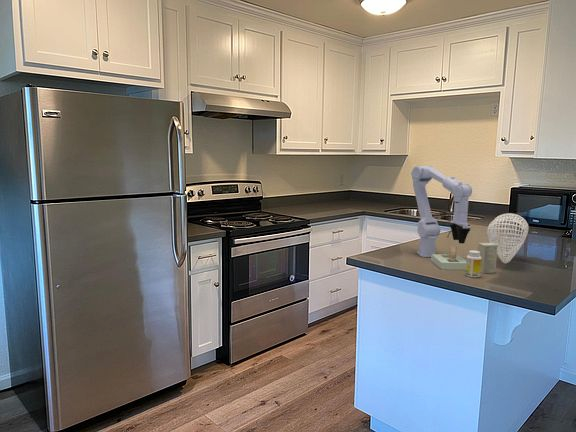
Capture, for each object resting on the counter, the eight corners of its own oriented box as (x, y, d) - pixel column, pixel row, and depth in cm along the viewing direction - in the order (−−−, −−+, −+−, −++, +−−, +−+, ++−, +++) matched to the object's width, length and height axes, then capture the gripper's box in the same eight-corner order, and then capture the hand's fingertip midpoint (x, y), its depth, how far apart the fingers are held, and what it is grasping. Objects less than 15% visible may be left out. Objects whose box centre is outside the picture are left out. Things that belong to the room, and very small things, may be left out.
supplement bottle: (482, 275, 175) (484, 251, 174) (477, 278, 171) (479, 253, 170) (468, 273, 179) (470, 249, 177) (463, 275, 175) (465, 251, 173)
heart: (490, 255, 212) (494, 210, 209) (526, 259, 204) (530, 213, 201) (482, 267, 189) (486, 217, 186) (522, 272, 181) (526, 220, 177)
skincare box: (490, 270, 184) (492, 242, 182) (495, 273, 179) (498, 244, 178) (476, 270, 183) (478, 242, 182) (481, 273, 179) (483, 244, 177)
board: (431, 260, 200) (431, 254, 200) (457, 260, 200) (457, 254, 199) (441, 269, 184) (441, 262, 184) (469, 270, 184) (470, 263, 183)
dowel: (447, 266, 190) (448, 246, 188) (454, 266, 189) (455, 246, 188) (448, 268, 187) (450, 247, 185) (456, 268, 186) (457, 248, 185)
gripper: (446, 209, 198) (444, 238, 200) (457, 213, 183) (454, 244, 185) (462, 209, 197) (460, 238, 199) (473, 213, 183) (471, 245, 185)
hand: (458, 241), depth 192 cm, fingers open, 7 cm apart
